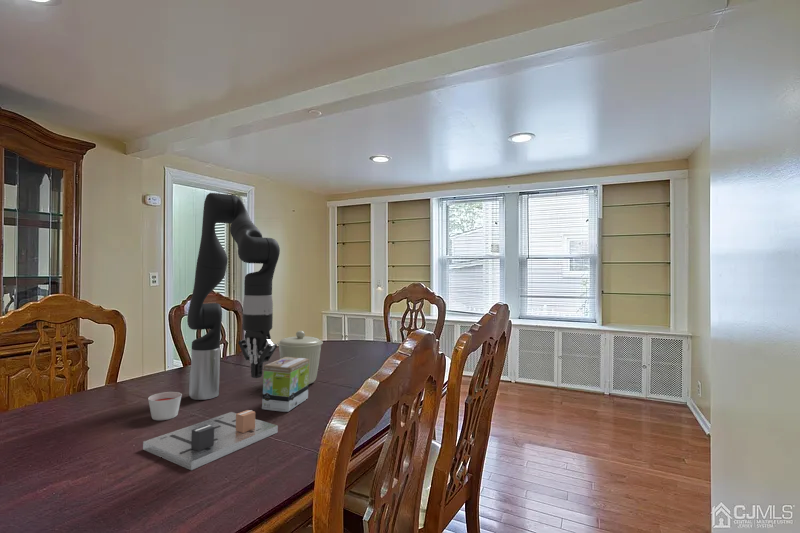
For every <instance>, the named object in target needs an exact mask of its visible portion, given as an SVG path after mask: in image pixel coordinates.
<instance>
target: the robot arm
mask: <svg viewBox="0 0 800 533" xmlns="http://www.w3.org/2000/svg"><path fill="white" fill-rule="evenodd" d="M202 210H203V212H202V223H201V224H202V228H201V238H200V245H199V250H198V255H197V260H196V265H195V273H194V283H193V289H192V294H191V298H190V302H189V306H188V311H187V327H189V329H191V330H194V331H199V330H200V331H201V330H208V331H207V333H205V334H204V335H203V336H201V337H197V338H196V339H193V341H192V342H191V361H190V362H191V363H190V365H191V366H190V370H189V386H188V387H189V388H188V392H189V393H188V395H189V397H190V399H192V400H197V401H199V400H200V401H202V400H210V399H214V398H216V397H218V396H219V395H220V393H219V392H220V368H221V366H220V364H221V363H220V362H221V361H220V359H221V358H220V357H221V356H220V355H221V339H222V338H221V337H222V336H221V334H222V332H221V331H222V322H223V310H222V306H221V304H219V302H218V303H217V302H212V303H211V302H209V303H204V302H205V299H206V298H207V297H208V296H209V294H210V293H212V291H213V290H215V288H216V287H217V286H218V285H219V284H221V282H222V281H223V280H224V278H225V276H226V273H227V272H226V271H227V266H228V262H229V261H228V260H229V259H228V255H227V253H226V251H225V249H224V247H223V245H222V243H221V242H220V240H219V237H218V235H217V233H216V224H217V223H219V224H229V225H230V227H229V231H230V232H229V233H230V235H231V237H232V239H233V241H234V242H236V244H237V255H238V258H239V260H240V261H241V262H243V263H246V264H262V266H261V268H260V270H258V271H255V272H254V271H253V272H249V273H247V274H245V276H244V290H243V292H244V293H243V294H244V295H243V301H242V330H243V331H245V333H244V338H242V339H241V340H238V342H237V344H238V346H239V347H240V351H241V352H242V354H243V357H244V358H245V361H249V363H250V375H251V378H254V379H259V378H262V376H263V370H264V363H265V362H268V361H270V359H271V357H272V356H273V354H274V352H275V351H276V349H277V347H278V344H277V343H274V342H272V340H271V339H272V337H271V334H270V331H271V330H273V315H274V314H273V311H274V310H273V309H274V308H273V306H274V303H273V279H274V274H275V271H276V266H277V263H278V261H279V257H280V253H281V252H280V251H281V250H280V249H281V248H280V245H279V242H278V241H277V240H276V239H275V238H271V237H263V234H262V232H261V230H260V229H258V227H257V226H256V225H255V224H254V222H252V219H251V218H250V216H249V213H248V210H247V208H246V205H245V204H244V201H243V200H242V199H241V198H240V197H239V196H237V195H234V194H226V193H218V192H210V193H208V194H207V195H206V197H205V199H204V202H203V209H202Z"/></svg>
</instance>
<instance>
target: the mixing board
mask: <svg viewBox="0 0 800 533" xmlns="http://www.w3.org/2000/svg"><path fill="white" fill-rule="evenodd" d="M236 414H238V413H236V412H234V411H229V412H227V413H223V414H221V415H217V416H215V417H212V418H209V419H206V420H203V421H200V422H198V423H194V424H192V425H189V426H185V427H183V428H180V429H176V430H174V431H171V432H168V433H165V434H161V435H159V436H155V437H153V438H150V439H147V440H143V441H142V451H143V450H144V451H146V452H147V453H150V454H152V455H155V456H156V457H160V458H161V457H162V459H164V460H167V461H169V462H171V463H174V464H176V465H178V466H180V467H182V468H185V469H187V470H190V471H193V470H196V469H198V468H200V467H202V466H205V465H207V464H209V463H211V462H214V461H216V460H218V459H220V458H223V457H225V456H228V455H229V454H232V453H234V452H236V451H238V450H241V449H244V448H246V447H248V446H250V445H253V444H254V443H257V442H259V441H262V440H264V439H266V438H268V437H270V436H272V435H276V434H277V433H278V429H279V426H278V425H277V424H273V423H270V422H268V421H264V420H260V419H256V418H255V428H254V429H252V430H249V431H247V432H244V433H241V432H238V431H236ZM204 425H211V426H212V427H214V445H213V446H211V447H208V448H206V449H203V450H201V451H197V450H194V449H192V448H191V438H192V430H193V429H196V428H198V427H201V426H204Z"/></svg>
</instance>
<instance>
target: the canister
mask: <svg viewBox="0 0 800 533" xmlns="http://www.w3.org/2000/svg"><path fill="white" fill-rule="evenodd" d="M276 344H277V346H278V350H279V351H278V352H279V359H281V358H284V357H294V358H306V359H309V384H308V385H311V384H314V382H315V381H316V379H317V377H318V370H319V364H320V357H321V350H322V349H321V348H322V345H323V344H324V341H322V340H321V339H320V338H317V337H313V336H306V333H305V332H304V330H298V331H297V332H296V333H295V336H288V337H285V338H282V339H280V340H279V341H277V342H276Z"/></svg>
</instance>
